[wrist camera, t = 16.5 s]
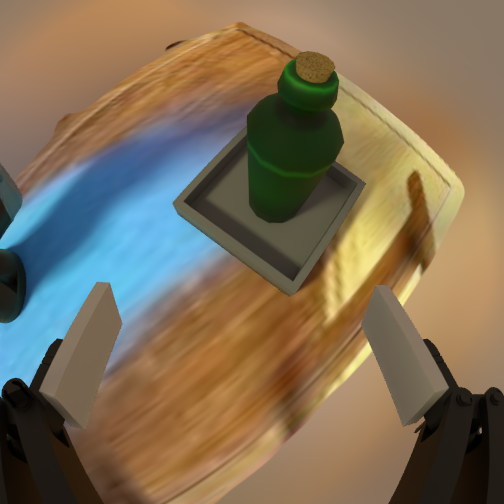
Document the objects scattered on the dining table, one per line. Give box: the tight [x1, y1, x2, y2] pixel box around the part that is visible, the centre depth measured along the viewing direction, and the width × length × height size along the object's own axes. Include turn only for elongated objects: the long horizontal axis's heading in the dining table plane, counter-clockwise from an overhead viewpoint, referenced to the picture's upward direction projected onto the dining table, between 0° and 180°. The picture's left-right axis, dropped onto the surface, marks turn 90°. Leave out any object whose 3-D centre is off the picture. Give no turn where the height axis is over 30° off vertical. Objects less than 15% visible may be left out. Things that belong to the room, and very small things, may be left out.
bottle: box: [247, 51, 344, 223], centre depth 32 cm, size 11×11×28 cm
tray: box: [172, 126, 366, 296], centre depth 44 cm, size 22×22×4 cm
